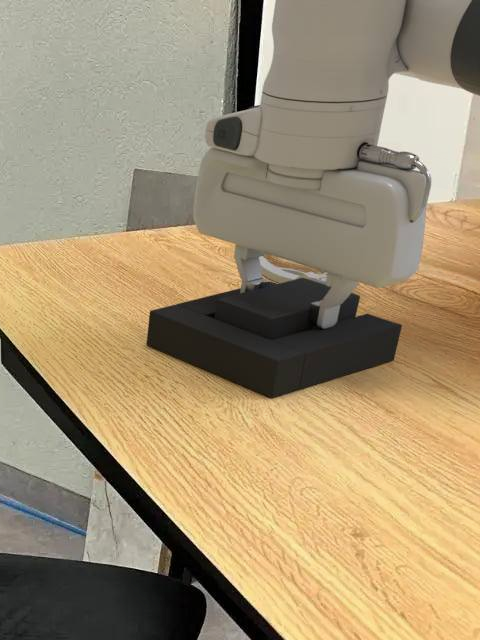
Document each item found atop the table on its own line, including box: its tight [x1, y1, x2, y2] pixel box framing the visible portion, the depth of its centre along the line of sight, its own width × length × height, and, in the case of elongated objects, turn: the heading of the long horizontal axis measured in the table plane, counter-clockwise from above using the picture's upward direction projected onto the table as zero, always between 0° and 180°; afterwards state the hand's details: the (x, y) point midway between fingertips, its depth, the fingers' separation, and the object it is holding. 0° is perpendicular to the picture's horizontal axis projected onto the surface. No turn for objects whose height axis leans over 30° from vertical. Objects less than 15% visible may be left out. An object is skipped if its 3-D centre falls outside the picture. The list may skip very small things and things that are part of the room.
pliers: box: [259, 255, 355, 294], centre depth 109 cm, size 10×2×15 cm
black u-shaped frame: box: [146, 281, 403, 399], centre depth 94 cm, size 14×14×3 cm
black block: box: [214, 278, 361, 340], centre depth 94 cm, size 10×6×3 cm, turn 121°
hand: (285, 312), depth 94 cm, fingers closed on black block, 6 cm apart
